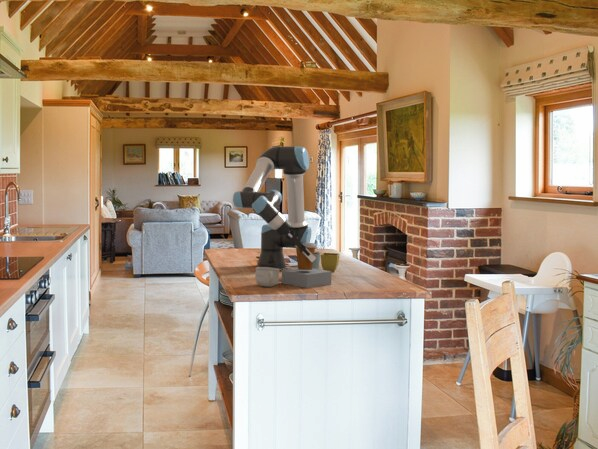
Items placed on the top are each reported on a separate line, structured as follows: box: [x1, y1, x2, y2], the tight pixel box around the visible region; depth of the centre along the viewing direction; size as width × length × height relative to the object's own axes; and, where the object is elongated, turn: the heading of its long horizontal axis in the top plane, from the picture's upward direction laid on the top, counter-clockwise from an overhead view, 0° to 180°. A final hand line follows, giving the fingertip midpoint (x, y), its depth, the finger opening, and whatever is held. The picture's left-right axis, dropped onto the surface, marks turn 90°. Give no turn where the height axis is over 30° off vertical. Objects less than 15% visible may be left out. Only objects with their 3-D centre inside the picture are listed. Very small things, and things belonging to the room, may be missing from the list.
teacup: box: [254, 266, 281, 288], centre depth 290 cm, size 14×11×8 cm
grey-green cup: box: [312, 251, 322, 269], centre depth 318 cm, size 10×10×12 cm
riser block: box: [281, 267, 333, 289], centre depth 299 cm, size 16×16×6 cm
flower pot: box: [320, 252, 340, 273], centre depth 340 cm, size 9×9×9 cm
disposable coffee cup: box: [295, 242, 317, 270], centre depth 296 cm, size 10×10×12 cm
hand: (312, 258), depth 299 cm, fingers open, 13 cm apart
